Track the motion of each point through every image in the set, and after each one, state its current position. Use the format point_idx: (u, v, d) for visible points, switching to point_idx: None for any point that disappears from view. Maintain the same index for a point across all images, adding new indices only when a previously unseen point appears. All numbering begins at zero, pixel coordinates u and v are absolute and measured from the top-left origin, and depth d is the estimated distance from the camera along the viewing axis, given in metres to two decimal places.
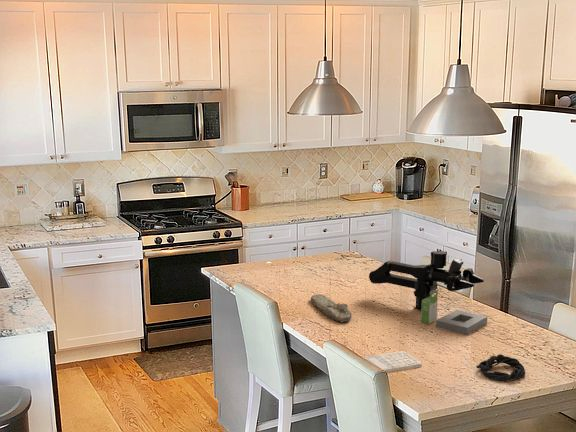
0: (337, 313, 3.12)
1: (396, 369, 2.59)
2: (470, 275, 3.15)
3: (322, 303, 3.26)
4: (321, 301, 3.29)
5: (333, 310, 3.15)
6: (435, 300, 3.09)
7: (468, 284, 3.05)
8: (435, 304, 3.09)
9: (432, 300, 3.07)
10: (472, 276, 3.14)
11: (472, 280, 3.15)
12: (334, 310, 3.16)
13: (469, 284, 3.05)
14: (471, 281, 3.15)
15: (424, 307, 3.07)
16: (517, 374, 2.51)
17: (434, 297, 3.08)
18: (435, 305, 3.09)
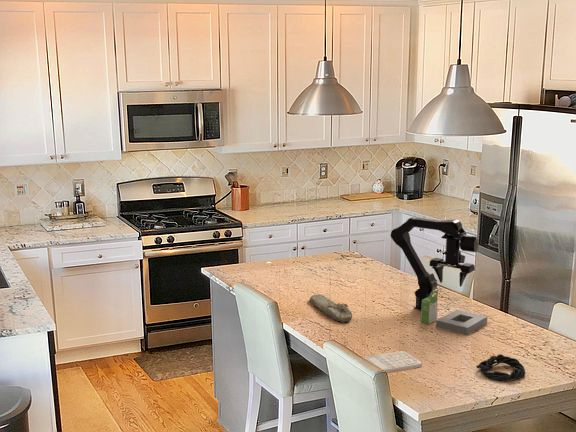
0: (338, 313, 3.12)
1: (396, 369, 2.59)
2: (442, 267, 3.21)
3: (322, 303, 3.26)
4: (321, 301, 3.29)
5: (333, 310, 3.15)
6: (435, 300, 3.09)
7: (462, 282, 3.15)
8: (435, 304, 3.09)
9: (432, 300, 3.07)
10: (442, 270, 3.21)
11: (440, 271, 3.20)
12: (334, 310, 3.16)
13: (462, 283, 3.15)
14: (439, 270, 3.19)
15: (424, 307, 3.07)
16: (517, 374, 2.51)
17: (434, 297, 3.08)
18: (435, 305, 3.09)
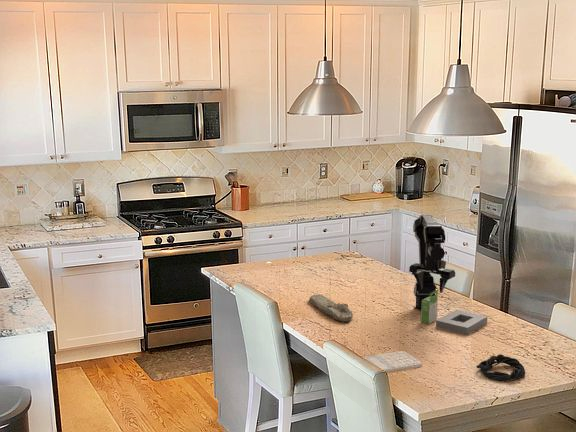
0: (338, 313, 3.12)
1: (396, 369, 2.59)
2: (422, 273, 3.11)
3: (322, 303, 3.26)
4: (321, 301, 3.29)
5: (334, 310, 3.15)
6: (435, 300, 3.09)
7: (443, 288, 3.05)
8: (435, 304, 3.09)
9: (432, 300, 3.07)
10: (422, 276, 3.11)
11: (420, 277, 3.10)
12: (335, 310, 3.16)
13: None
14: (419, 276, 3.09)
15: (424, 307, 3.07)
16: (517, 374, 2.51)
17: (434, 297, 3.08)
18: (435, 305, 3.09)
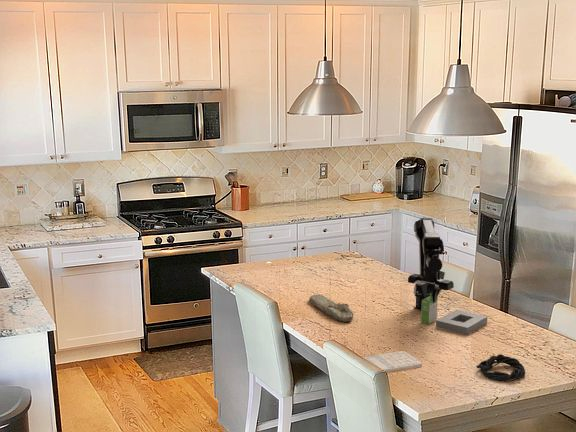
0: (339, 313, 3.12)
1: (396, 369, 2.59)
2: (426, 285, 3.10)
3: (322, 303, 3.26)
4: (321, 301, 3.29)
5: (335, 310, 3.15)
6: None
7: (436, 298, 3.07)
8: (435, 304, 3.09)
9: (432, 300, 3.07)
10: (426, 287, 3.10)
11: (424, 288, 3.09)
12: (336, 310, 3.16)
13: None
14: (423, 288, 3.08)
15: (424, 307, 3.07)
16: (517, 374, 2.51)
17: None
18: (435, 305, 3.09)
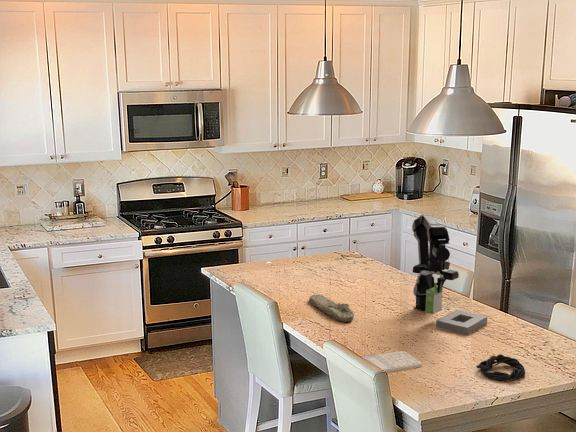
0: (339, 313, 3.12)
1: (396, 369, 2.59)
2: (431, 275, 3.09)
3: (322, 303, 3.26)
4: (321, 301, 3.29)
5: (335, 310, 3.15)
6: None
7: (441, 288, 3.05)
8: (440, 295, 3.08)
9: (437, 290, 3.05)
10: (430, 278, 3.09)
11: (428, 278, 3.07)
12: (336, 310, 3.16)
13: (440, 289, 3.06)
14: (428, 278, 3.07)
15: (428, 297, 3.06)
16: (517, 374, 2.51)
17: None
18: (440, 295, 3.08)
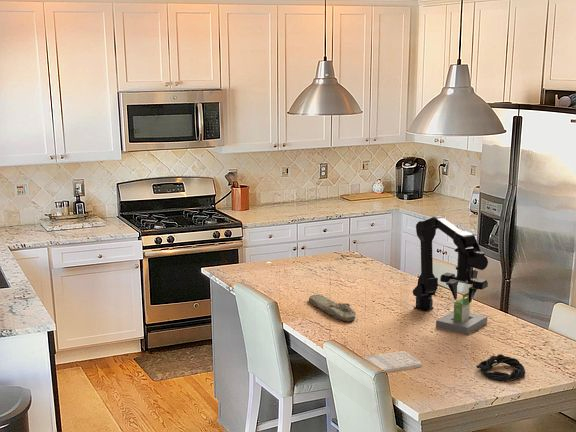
0: (341, 313, 3.12)
1: (396, 369, 2.59)
2: (456, 284, 3.05)
3: (323, 303, 3.26)
4: (321, 301, 3.29)
5: (336, 310, 3.15)
6: (467, 302, 3.04)
7: (472, 298, 3.01)
8: (467, 306, 3.04)
9: (465, 302, 3.01)
10: (456, 286, 3.05)
11: (454, 287, 3.04)
12: (337, 309, 3.16)
13: (471, 299, 3.01)
14: (453, 286, 3.04)
15: (456, 310, 3.02)
16: (517, 374, 2.51)
17: (466, 299, 3.03)
18: (467, 307, 3.04)
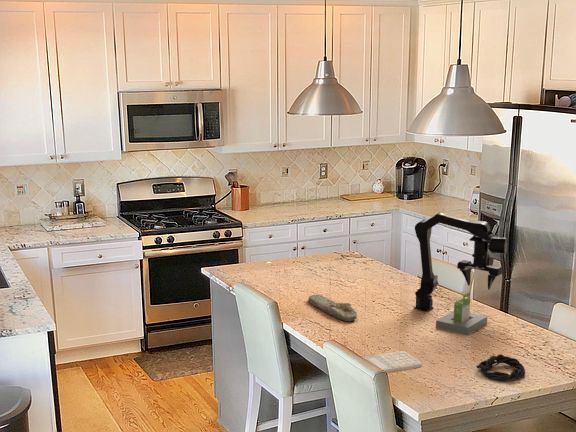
0: (342, 312, 3.12)
1: (396, 369, 2.59)
2: (470, 270, 3.17)
3: (323, 303, 3.26)
4: (321, 301, 3.29)
5: (337, 310, 3.16)
6: (468, 303, 3.03)
7: (491, 285, 3.10)
8: (468, 307, 3.04)
9: (465, 303, 3.01)
10: (469, 272, 3.17)
11: (468, 273, 3.15)
12: (338, 309, 3.16)
13: (491, 285, 3.10)
14: (467, 273, 3.15)
15: (456, 310, 3.02)
16: (517, 374, 2.51)
17: (467, 300, 3.02)
18: (468, 307, 3.04)
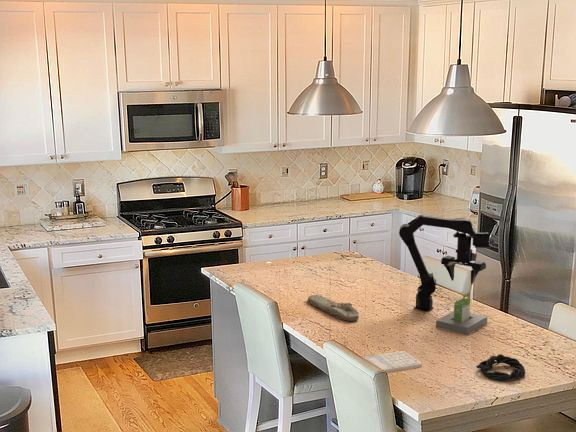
0: (344, 312, 3.13)
1: (396, 369, 2.59)
2: (453, 265, 3.24)
3: (323, 303, 3.26)
4: (321, 301, 3.29)
5: (339, 310, 3.16)
6: (468, 303, 3.03)
7: (474, 280, 3.18)
8: (468, 307, 3.04)
9: (465, 303, 3.01)
10: (453, 268, 3.24)
11: (451, 269, 3.23)
12: (340, 309, 3.17)
13: (473, 280, 3.18)
14: (451, 268, 3.22)
15: (456, 310, 3.02)
16: (517, 374, 2.51)
17: (467, 300, 3.02)
18: (468, 307, 3.04)
